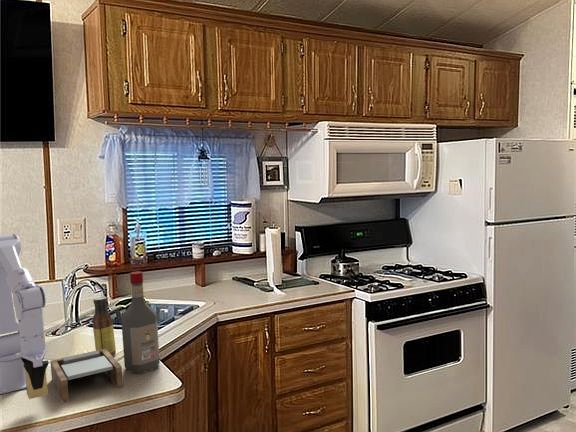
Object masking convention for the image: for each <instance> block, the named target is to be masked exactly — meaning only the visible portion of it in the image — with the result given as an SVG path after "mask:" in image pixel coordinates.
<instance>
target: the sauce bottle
mask: <svg viewBox="0 0 576 432" xmlns="http://www.w3.org/2000/svg"><path fill="white" fill-rule="evenodd" d="M107 301H108V299H107V297H106V296H97V297H95V298H93V304H94V314H93V317H92V329H93V330H92V331H93V338H94V340H93V341H94V347H95V351H97V350H102V349H106V350H107V351H108V352H109V353H110V354H111V355H112V356H113V357H114V355H115V356H116V354H117V353H116V349H117V348H116V347H117V346H116V340H115V330H114V324H113V323H114V322H113V319H112V316H111V315H110V313H109V311H108V305H107Z"/></svg>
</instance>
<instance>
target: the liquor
mask: <svg viewBox="0 0 576 432" xmlns="http://www.w3.org/2000/svg"><path fill="white" fill-rule="evenodd" d="M129 275H130V277H129V278H130V285H131V287H130V289H131V302H130V303H131V304H130V305H129V306H128V308H127V309H126V310H125V311H124V313H123V314H122V316H121V333H122V334H121V335H122V350H123V362H124V368H125V370H127V371H129V372H131V373H133V374H144V373H146V372H150V371H153V370H155V369H157V368H158V366H159V365H160V363H161V362H160V361H161V360H160V359H161V358H160V346H159V331H158V316H157V313H156V312H155V310H154V309H153V308H151V307H150V306H149V305H148V304H147V303H146V300H145V298H144V297H145V294H144V284H143V283H144V275H143V271H141V270H139V271H131V272H130V273H129Z"/></svg>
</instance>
